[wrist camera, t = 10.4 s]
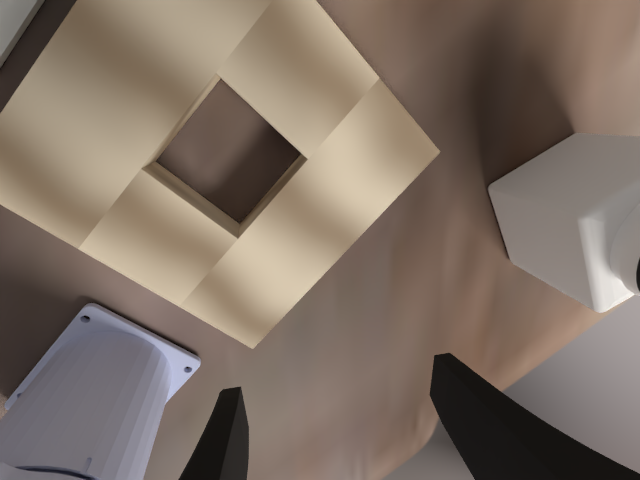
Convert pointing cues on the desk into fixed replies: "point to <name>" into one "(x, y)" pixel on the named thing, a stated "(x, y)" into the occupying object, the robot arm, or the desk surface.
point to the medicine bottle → (576, 217)
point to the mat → (15, 22)
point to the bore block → (167, 120)
